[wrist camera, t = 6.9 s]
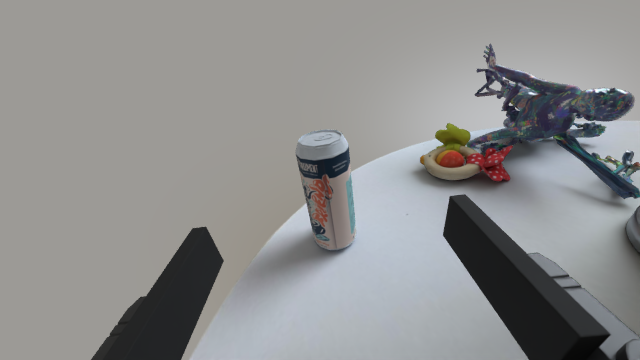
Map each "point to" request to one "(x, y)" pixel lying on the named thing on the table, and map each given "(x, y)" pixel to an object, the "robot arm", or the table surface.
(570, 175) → the table surface
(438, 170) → the bird rattle
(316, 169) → the beer can
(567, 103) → the figurine
